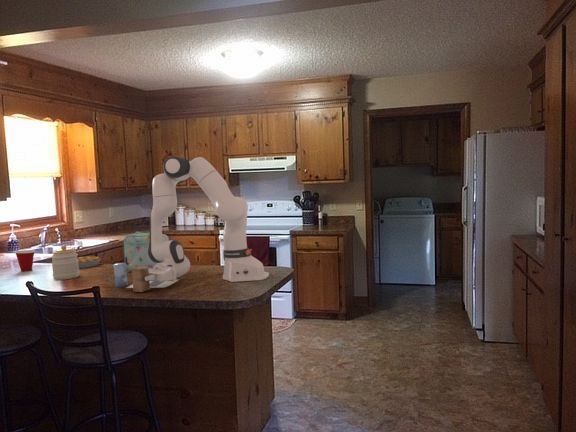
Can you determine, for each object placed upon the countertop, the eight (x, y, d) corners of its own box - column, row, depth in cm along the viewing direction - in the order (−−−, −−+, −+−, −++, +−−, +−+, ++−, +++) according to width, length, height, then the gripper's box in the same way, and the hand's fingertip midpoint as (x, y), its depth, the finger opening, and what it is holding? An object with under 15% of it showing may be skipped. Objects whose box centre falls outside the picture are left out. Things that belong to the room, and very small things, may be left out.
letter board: (179, 280, 229) (179, 279, 229) (165, 288, 213) (165, 287, 213) (141, 280, 232) (141, 279, 232) (125, 288, 217) (125, 287, 217)
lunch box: (121, 271, 260) (118, 233, 258) (133, 267, 270) (129, 230, 268) (163, 272, 252) (159, 232, 250) (173, 268, 261) (170, 230, 260)
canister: (130, 285, 224) (128, 262, 223) (124, 288, 218) (122, 264, 217) (119, 285, 224) (117, 262, 224) (113, 288, 219) (111, 265, 218)
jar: (69, 280, 244) (66, 246, 243) (47, 280, 247) (44, 247, 245) (85, 274, 257) (82, 242, 255) (64, 274, 259) (61, 243, 258)
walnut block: (142, 288, 211) (140, 266, 210) (150, 289, 209) (148, 267, 208) (133, 291, 207) (131, 269, 206) (141, 292, 204) (139, 269, 203)
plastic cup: (36, 270, 276) (34, 250, 275) (15, 273, 273) (13, 252, 272) (38, 267, 287) (36, 248, 286) (18, 270, 283) (16, 250, 282)
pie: (57, 266, 288) (56, 258, 287) (94, 261, 302) (93, 253, 301) (67, 271, 271) (67, 262, 271) (106, 265, 285) (105, 256, 285)
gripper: (145, 264, 223) (122, 270, 211) (177, 266, 213) (155, 272, 201) (146, 277, 224) (123, 283, 212) (178, 280, 214) (156, 287, 202)
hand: (139, 278), depth 206 cm, fingers closed on walnut block, 5 cm apart
